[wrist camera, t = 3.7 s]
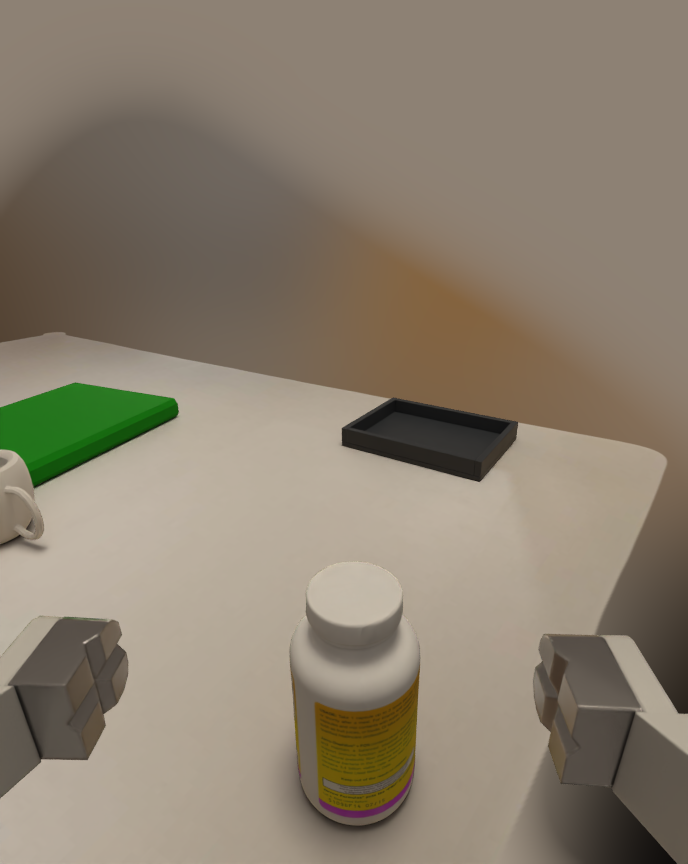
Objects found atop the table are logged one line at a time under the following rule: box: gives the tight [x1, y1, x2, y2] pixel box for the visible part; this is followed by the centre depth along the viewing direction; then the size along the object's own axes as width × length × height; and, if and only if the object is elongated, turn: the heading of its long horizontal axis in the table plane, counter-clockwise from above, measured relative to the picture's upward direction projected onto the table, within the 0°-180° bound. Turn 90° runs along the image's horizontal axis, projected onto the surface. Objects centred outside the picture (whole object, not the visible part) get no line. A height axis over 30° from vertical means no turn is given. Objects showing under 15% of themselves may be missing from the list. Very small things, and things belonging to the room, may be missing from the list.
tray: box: [342, 398, 518, 481], centre depth 71 cm, size 20×15×3 cm
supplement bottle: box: [290, 561, 420, 825], centre depth 27 cm, size 7×7×13 cm
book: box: [0, 383, 179, 487], centre depth 74 cm, size 22×28×3 cm
